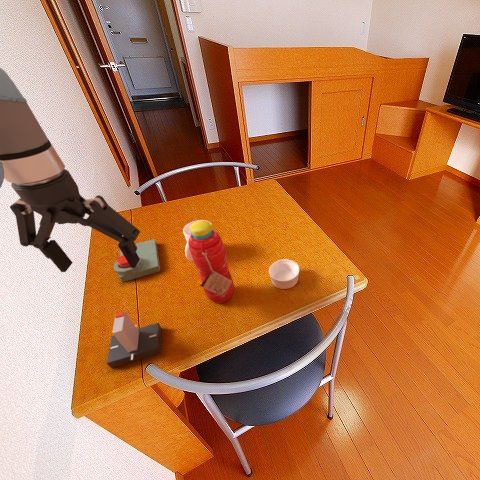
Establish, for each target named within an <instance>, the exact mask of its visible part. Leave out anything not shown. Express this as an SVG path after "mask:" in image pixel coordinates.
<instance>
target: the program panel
mask: <svg viewBox="0 0 480 480" xmlns="http://www.w3.org/2000/svg"><path fill="white" fill-rule="evenodd" d="M134 325H135V326H136V328H137V329H138V330H139V338H138V348H137V350H135V351H132V352H128V351H127V350H126V349H125V348H124V347H123V345H122V344H121V343H120V342H119V341H118V340H117V338H116V337H115V336H114V335H113V334H112V335H111V337H110V343H109V346H108V347H109V349H108V352H107V353H108V354H107V359H106V364H107V366H109V367H110V368H111V369H114V368H117V367H121V366H125V365H127V364H131V363H134V362H137V361H140V360H144V359H147V358H150V357H154V356H156V355H159V354H162V339H163V338H162V337H163V336H162V335H163V334H162V333H163V327H162V326H161V325H160V323H159V322H157V323H153V324H149V325H146V326H142V327H138V326H137V324H134Z"/></svg>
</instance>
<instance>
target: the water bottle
mask: <svg viewBox="0 0 480 480" xmlns="http://www.w3.org/2000/svg"><path fill="white" fill-rule="evenodd" d="M196 221H197V220H196ZM209 222H210V221H209V220H206V221H197V222H195V223H193V224H192V225H191V227H190V230H191V235H190V238H189V241H188V245H189V250H190V254H191V257H192V258H193V260H194V261H193V264H194V265H195V267H196V269H197V271H198V273H199V276H200V281H201V284H200V285H199V286H200V287H202V289H203V291H204V293H205V295H206V299H208V300H210V301H211V302H213V303H214V304H222V303H225V302H228V301H229V300H230V299H231V297H232V296H233V293H234V290H235V283H234V279H233V277H232V275H231V272H230V269H229V264H228V261H227V251H226V248H225V245H224V242H223V239H222V237H221V235H220V234H219V232H218V231H217V230H215V229H214V227H213V224H212V225H210V223H211V222H210V223H209Z"/></svg>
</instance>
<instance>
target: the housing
mask: <svg viewBox="0 0 480 480" xmlns="http://www.w3.org/2000/svg"><path fill="white" fill-rule="evenodd" d="M135 244H136V246H137V251H136V253H137V255H138V256H139V258H140V260H139V262H138V263H137V265H136V267H135V268H131V267H128V268H121V267H120V266H119V264H118V263H117V260H116V261H115V262H114V264H113V270H114V271H115V273H116V274H117V275H118V276H119V279H120V280H121V282H122V283H124V282H128V281H131V280H135V279H139V278H142V277H145V276H148V275H152V274H155V273H158V272H161V264H160V257H159V249H158V248H159V247H158V242H157V241H156V239H155V238H153V239H149V240H145V241H141V242H137V243H135ZM122 255H123V253H122V252H121V250H120V249H119V257H120V256H122Z"/></svg>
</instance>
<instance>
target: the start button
mask: <svg viewBox="0 0 480 480" xmlns="http://www.w3.org/2000/svg"><path fill="white" fill-rule="evenodd" d="M116 261H117V263H118V264H119V266H120V267H121V268H128V267H130V265H129V263H128V262H127V260H126V258H125V257H124V255H122V256H120V255H119V257H117V259H116Z"/></svg>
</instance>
